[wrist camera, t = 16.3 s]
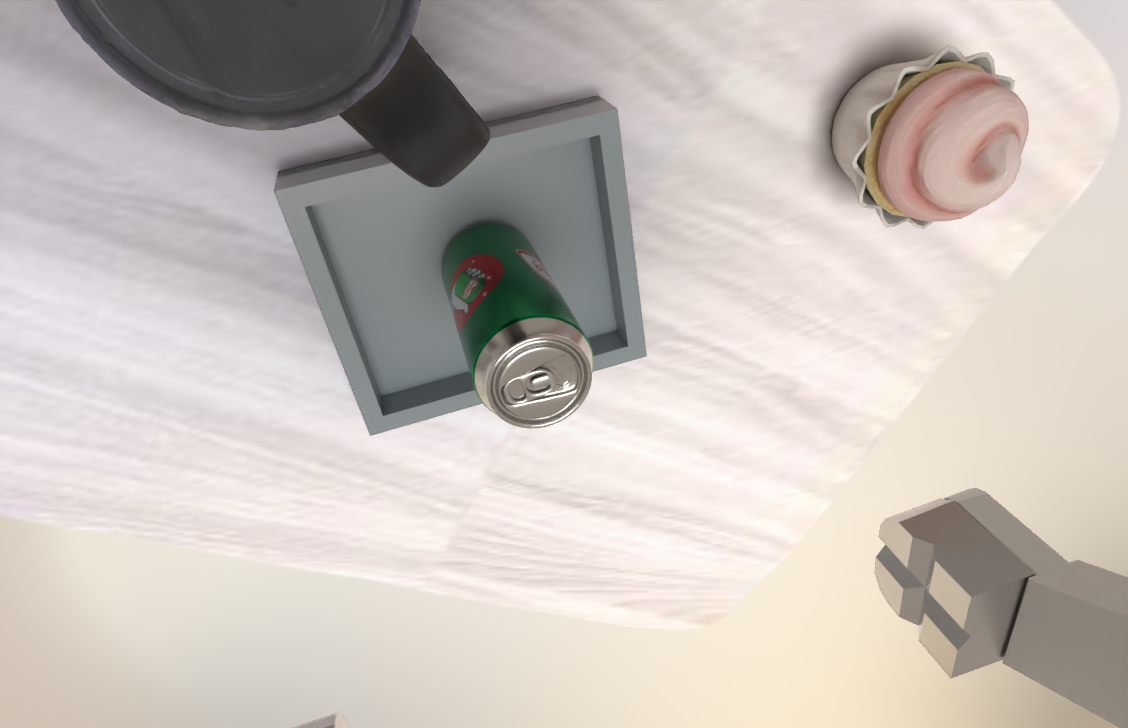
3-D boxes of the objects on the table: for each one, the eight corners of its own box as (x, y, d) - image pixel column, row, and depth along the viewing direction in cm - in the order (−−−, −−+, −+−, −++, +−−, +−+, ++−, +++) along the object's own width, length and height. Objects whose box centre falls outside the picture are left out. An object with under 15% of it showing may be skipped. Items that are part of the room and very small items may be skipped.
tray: (368, 405, 43) (370, 435, 40) (278, 171, 35) (273, 191, 33) (629, 331, 45) (646, 356, 42) (598, 95, 37) (617, 108, 35)
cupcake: (860, 4, 38) (1004, 28, 30) (981, 69, 42) (1139, 107, 34) (773, 174, 42) (881, 238, 34) (891, 220, 46) (1014, 288, 38)
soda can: (545, 290, 41) (612, 411, 31) (458, 320, 40) (498, 453, 30) (520, 206, 38) (585, 309, 28) (426, 237, 38) (459, 354, 28)
